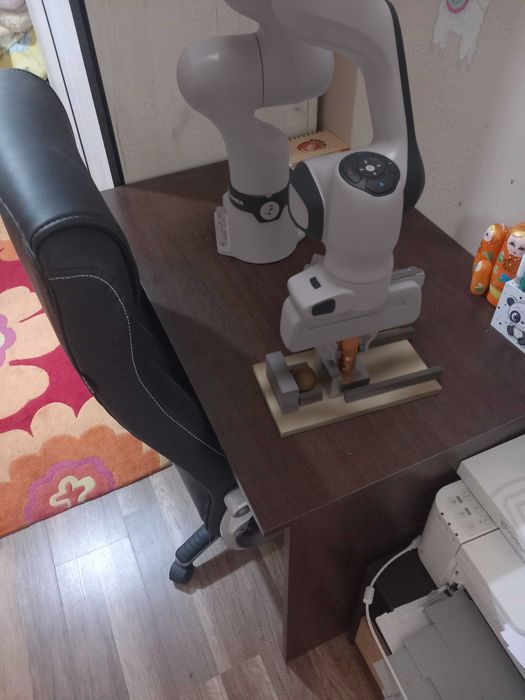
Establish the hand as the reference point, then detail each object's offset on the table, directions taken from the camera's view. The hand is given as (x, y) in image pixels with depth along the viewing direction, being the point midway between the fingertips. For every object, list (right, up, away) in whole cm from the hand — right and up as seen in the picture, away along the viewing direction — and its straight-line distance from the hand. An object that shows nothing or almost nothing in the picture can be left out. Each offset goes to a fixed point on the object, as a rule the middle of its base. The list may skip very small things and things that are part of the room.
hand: (347, 352), depth 82 cm
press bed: (0, -5, +5) cm, 7 cm away
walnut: (-6, -4, +1) cm, 8 cm away
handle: (0, -4, +3) cm, 5 cm away
